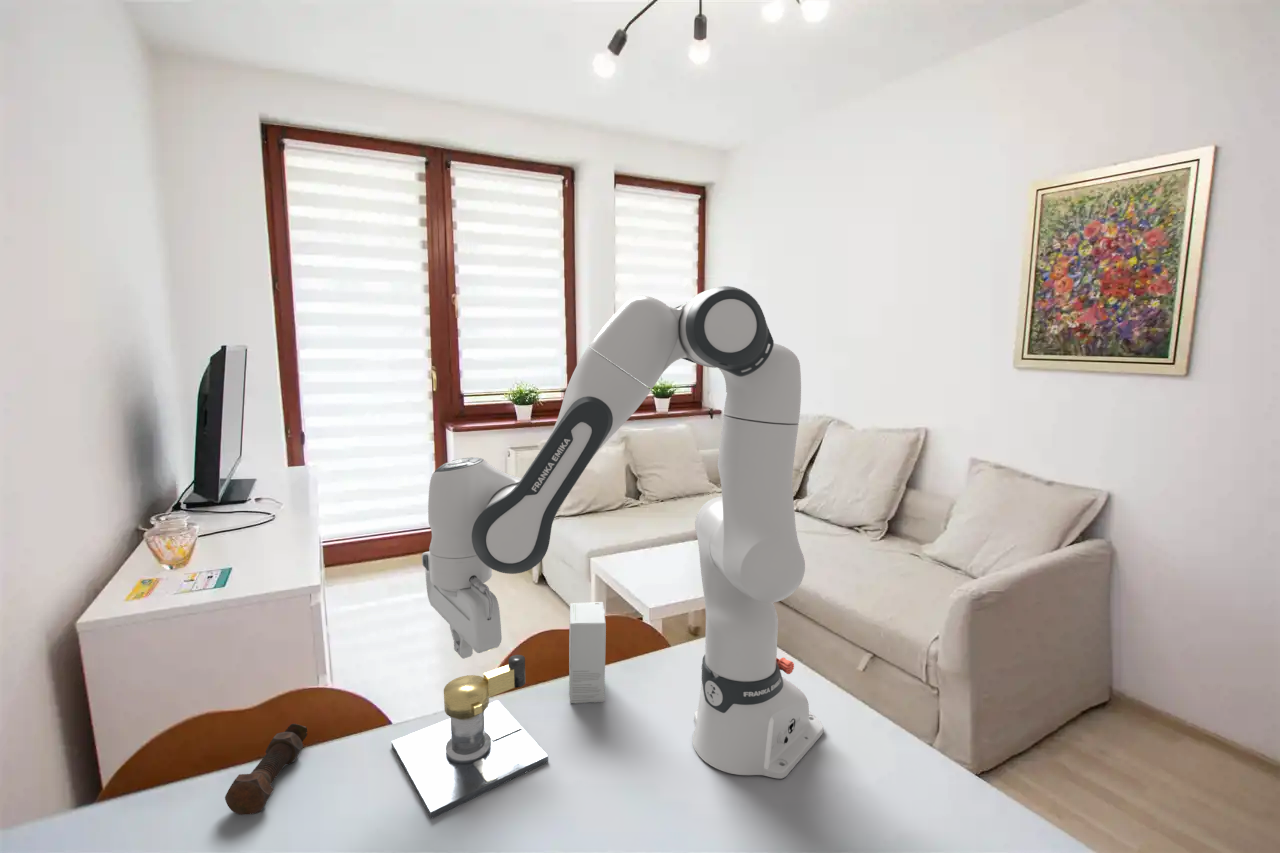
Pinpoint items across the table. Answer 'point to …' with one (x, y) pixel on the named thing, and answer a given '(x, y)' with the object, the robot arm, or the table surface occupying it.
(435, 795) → the slotted metal plate
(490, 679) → the brass faucet handle
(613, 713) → the table surface
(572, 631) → the skincare box
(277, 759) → the bolt
